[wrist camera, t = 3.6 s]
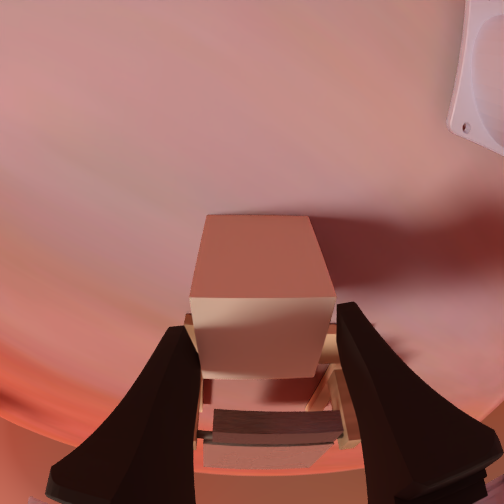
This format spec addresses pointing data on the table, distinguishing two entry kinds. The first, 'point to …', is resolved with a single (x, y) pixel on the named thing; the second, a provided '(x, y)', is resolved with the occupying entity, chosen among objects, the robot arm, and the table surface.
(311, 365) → the beige block
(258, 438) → the trapdoor
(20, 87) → the table surface
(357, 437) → the frame
